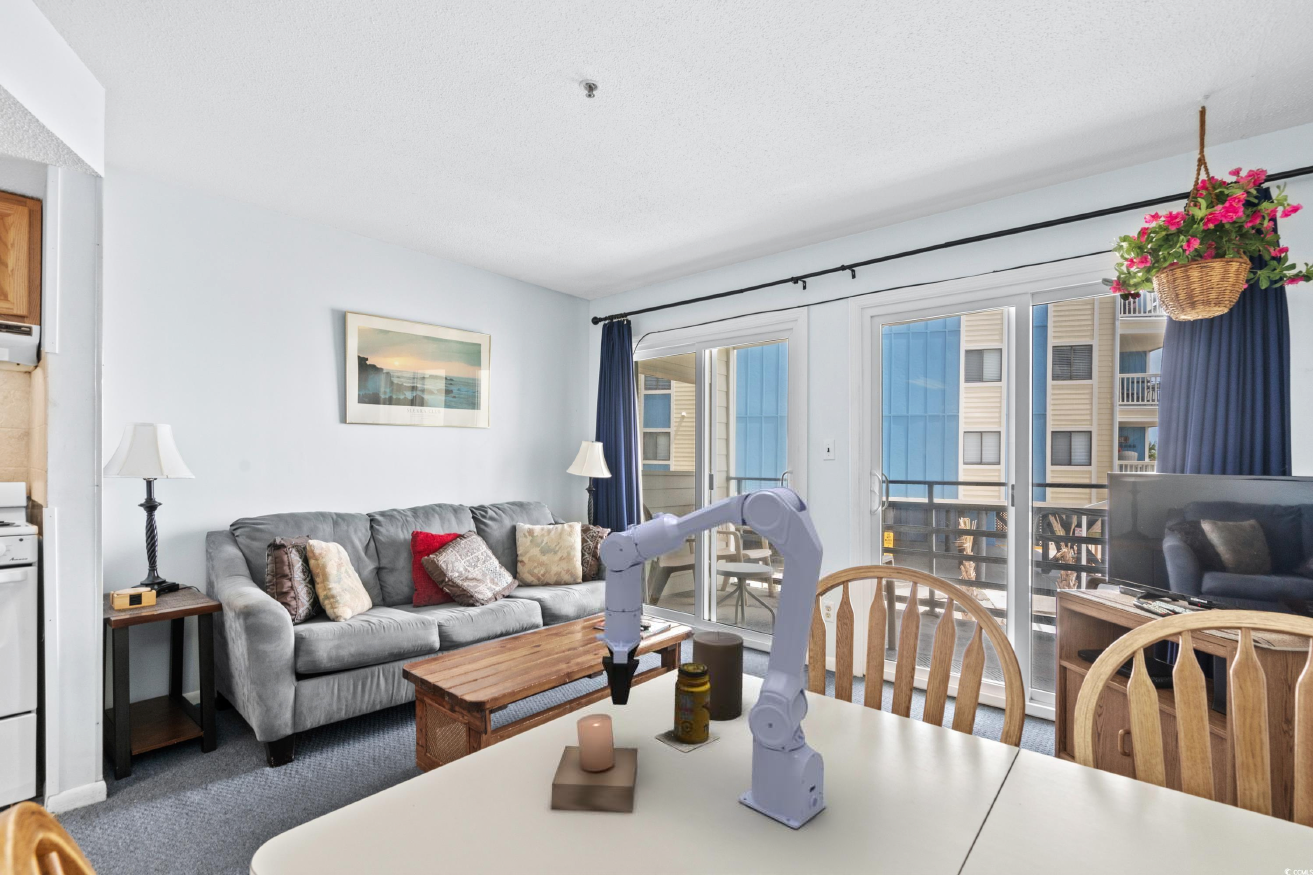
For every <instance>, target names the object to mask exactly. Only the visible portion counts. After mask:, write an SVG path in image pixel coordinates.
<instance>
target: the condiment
mask: <svg viewBox="0 0 1313 875" xmlns="http://www.w3.org/2000/svg"><path fill="white" fill-rule="evenodd" d="M676 676H677V679H676V681H675V684H674V686H675V687H674V712H673V713H674V714H673V729H669V730H667V731H666V732H662V733H659V734H657V735H654V737H655V738H657V739H658V740H660V741H662V742H663V743H666V744H667V745H669V746H671V747H672V748H675V749H677V750H678V751H682V752H684V753H688V752H690V751H693V750H694V749H696V748H699V747H701V746H705V745H708V743H711V742H713V741H715V740H717V739H719V738H720V736H719V735H716V734H713V733H711V732H710V719H709V710H710V684H709V682H708V668H707V667H706V666H705V665H703V664H700V663H692V662H684V663H680V664H679V665H678V668H677V675H676Z"/></svg>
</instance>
